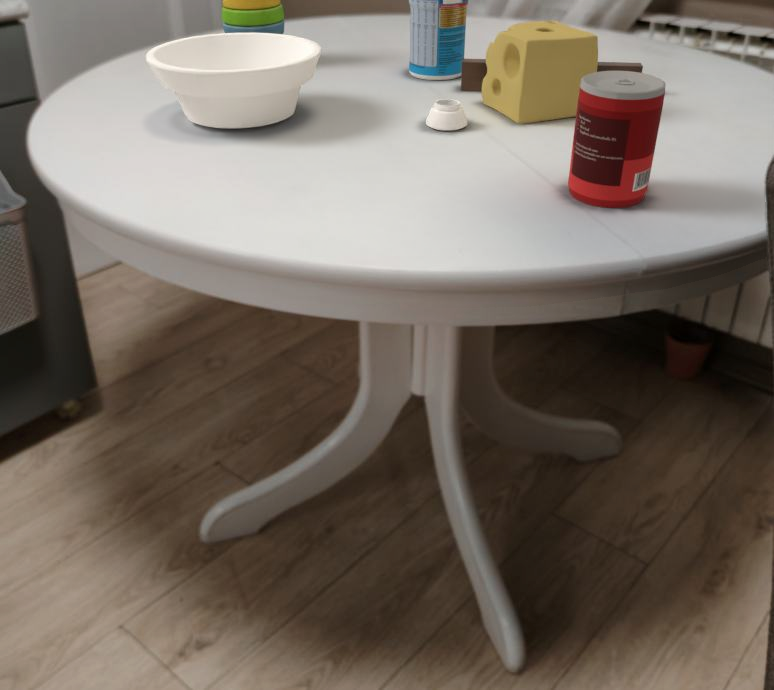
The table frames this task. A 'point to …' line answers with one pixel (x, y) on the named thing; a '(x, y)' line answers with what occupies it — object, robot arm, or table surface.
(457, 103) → the lidless jar
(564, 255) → the table surface
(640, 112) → the canned food
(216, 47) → the bowl
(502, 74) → the cheese
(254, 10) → the stacking bear
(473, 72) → the back rail
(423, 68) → the beverage bottle
